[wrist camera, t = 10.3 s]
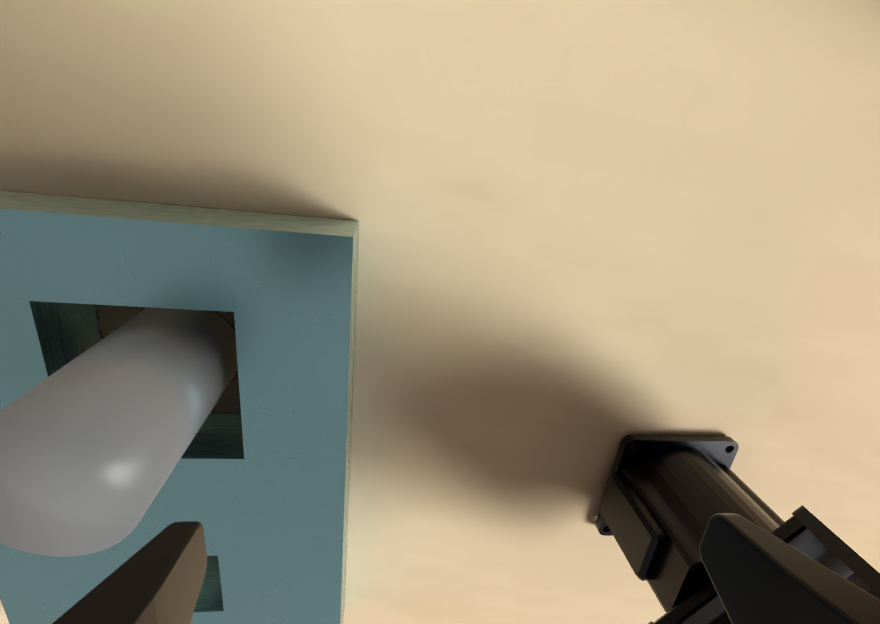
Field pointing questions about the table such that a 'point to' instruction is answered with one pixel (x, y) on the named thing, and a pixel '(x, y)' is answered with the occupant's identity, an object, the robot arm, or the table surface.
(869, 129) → the table surface
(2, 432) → the grey cylinder
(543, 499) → the table surface
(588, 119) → the table surface
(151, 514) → the plate
